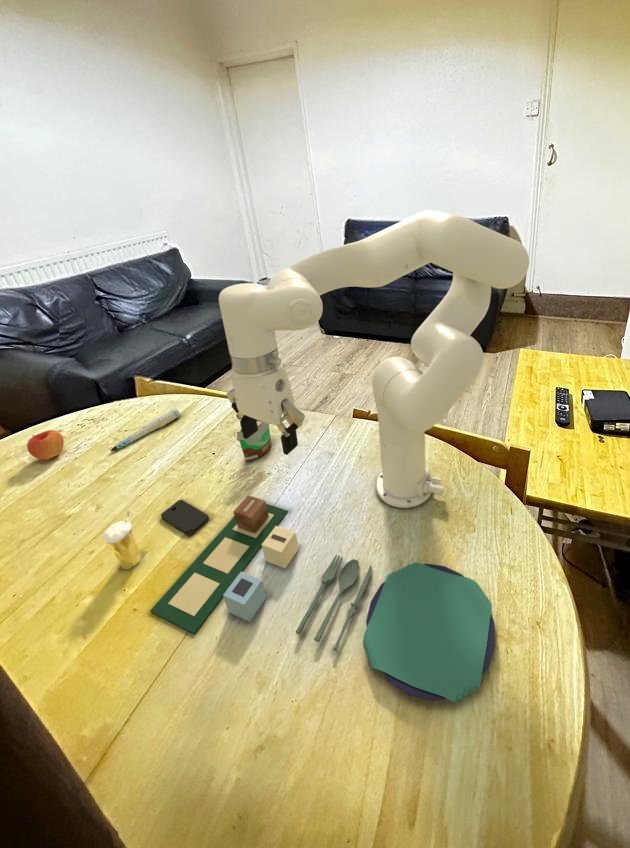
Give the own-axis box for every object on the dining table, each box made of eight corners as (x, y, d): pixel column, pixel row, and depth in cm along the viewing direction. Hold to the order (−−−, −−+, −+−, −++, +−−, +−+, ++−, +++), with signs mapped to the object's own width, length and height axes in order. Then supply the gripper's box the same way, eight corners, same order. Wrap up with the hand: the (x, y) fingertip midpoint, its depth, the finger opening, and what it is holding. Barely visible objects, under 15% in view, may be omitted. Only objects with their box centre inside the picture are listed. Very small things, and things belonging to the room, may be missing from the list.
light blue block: (266, 596, 71) (262, 579, 69) (249, 622, 68) (244, 604, 66) (246, 588, 73) (240, 570, 71) (228, 612, 69) (222, 594, 67)
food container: (268, 465, 101) (261, 432, 97) (244, 466, 101) (235, 433, 97) (281, 433, 112) (274, 402, 108) (258, 434, 113) (251, 403, 108)
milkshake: (153, 550, 81) (137, 513, 77) (130, 575, 76) (112, 537, 72) (135, 544, 82) (119, 508, 78) (112, 568, 78) (93, 531, 74)
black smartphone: (188, 533, 83) (159, 515, 88) (189, 536, 83) (160, 517, 88) (209, 515, 87) (180, 498, 92) (210, 518, 87) (181, 501, 92)
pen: (176, 414, 124) (173, 406, 123) (182, 417, 122) (179, 409, 121) (108, 451, 110) (104, 443, 109) (114, 455, 108) (110, 447, 107)
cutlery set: (483, 734, 53) (484, 725, 52) (286, 648, 64) (284, 639, 63) (502, 591, 70) (503, 582, 69) (343, 541, 80) (342, 533, 79)
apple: (73, 452, 110) (62, 428, 107) (41, 469, 105) (28, 444, 101) (61, 443, 114) (50, 420, 111) (30, 460, 108) (17, 435, 105)
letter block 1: (269, 516, 86) (265, 500, 84) (255, 533, 83) (250, 517, 81) (251, 510, 88) (247, 494, 86) (237, 527, 84) (232, 511, 82)
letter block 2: (299, 548, 80) (295, 531, 78) (285, 569, 76) (281, 551, 74) (279, 541, 81) (275, 525, 79) (265, 561, 77) (261, 544, 76)
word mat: (287, 511, 88) (287, 510, 88) (194, 634, 66) (193, 632, 66) (250, 499, 92) (250, 498, 91) (150, 612, 70) (149, 610, 70)
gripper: (310, 359, 67) (321, 443, 74) (235, 340, 75) (251, 418, 82) (279, 380, 61) (293, 470, 68) (201, 357, 69) (221, 440, 76)
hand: (270, 441), depth 75 cm, fingers open, 9 cm apart
